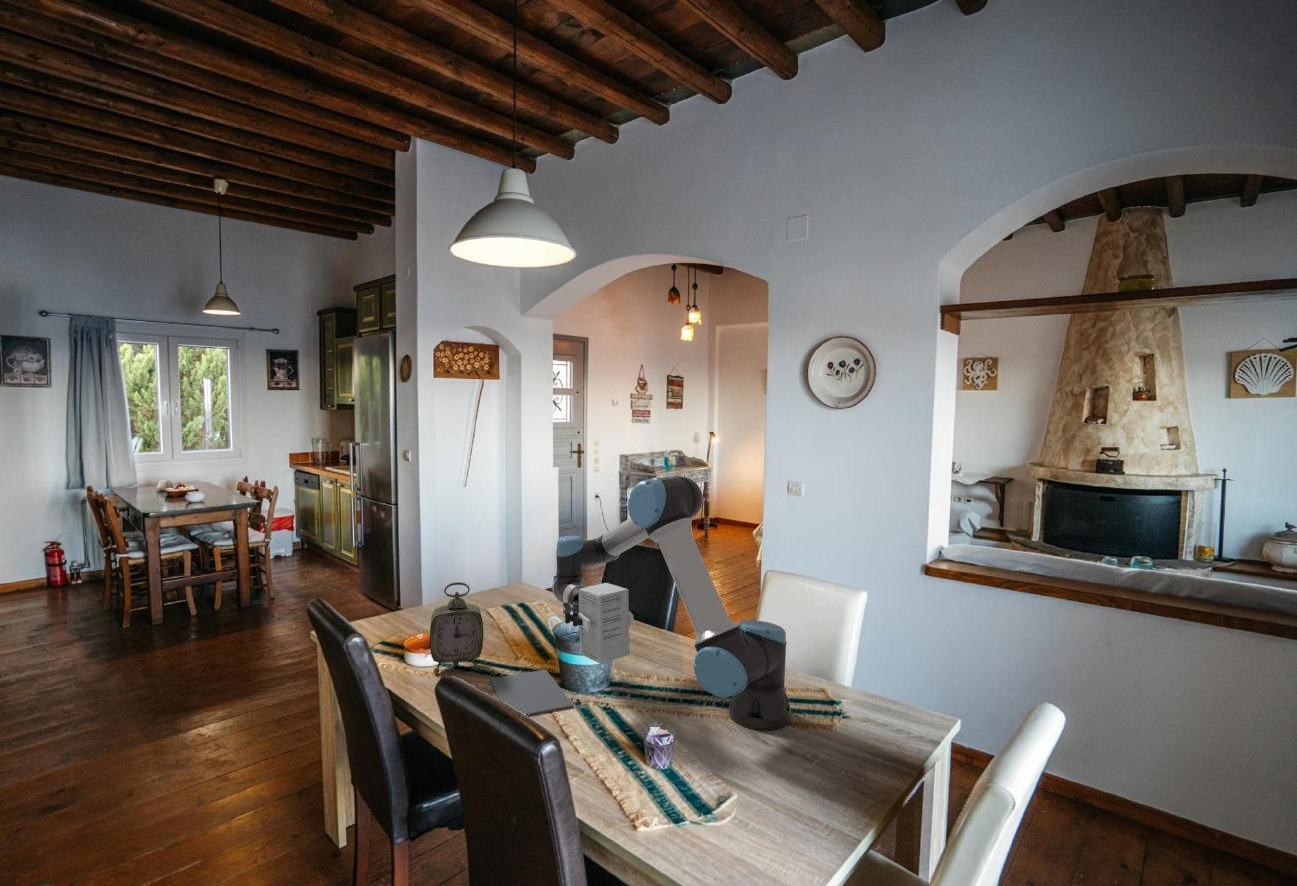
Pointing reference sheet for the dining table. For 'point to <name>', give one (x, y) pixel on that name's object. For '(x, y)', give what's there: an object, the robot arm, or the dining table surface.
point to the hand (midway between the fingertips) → (610, 623)
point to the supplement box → (604, 622)
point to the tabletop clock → (456, 631)
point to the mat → (531, 692)
